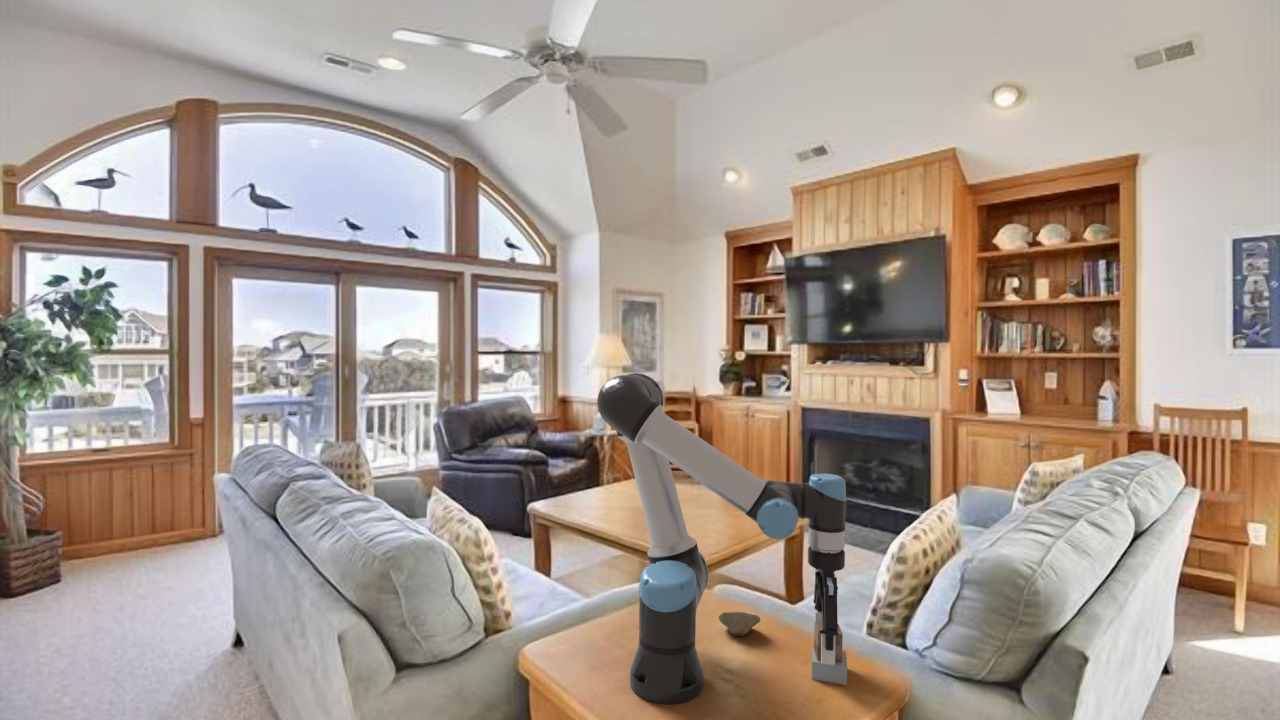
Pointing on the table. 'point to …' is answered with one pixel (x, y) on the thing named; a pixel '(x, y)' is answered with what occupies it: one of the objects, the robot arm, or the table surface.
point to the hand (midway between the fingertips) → (824, 651)
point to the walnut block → (818, 643)
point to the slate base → (830, 670)
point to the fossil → (739, 622)
